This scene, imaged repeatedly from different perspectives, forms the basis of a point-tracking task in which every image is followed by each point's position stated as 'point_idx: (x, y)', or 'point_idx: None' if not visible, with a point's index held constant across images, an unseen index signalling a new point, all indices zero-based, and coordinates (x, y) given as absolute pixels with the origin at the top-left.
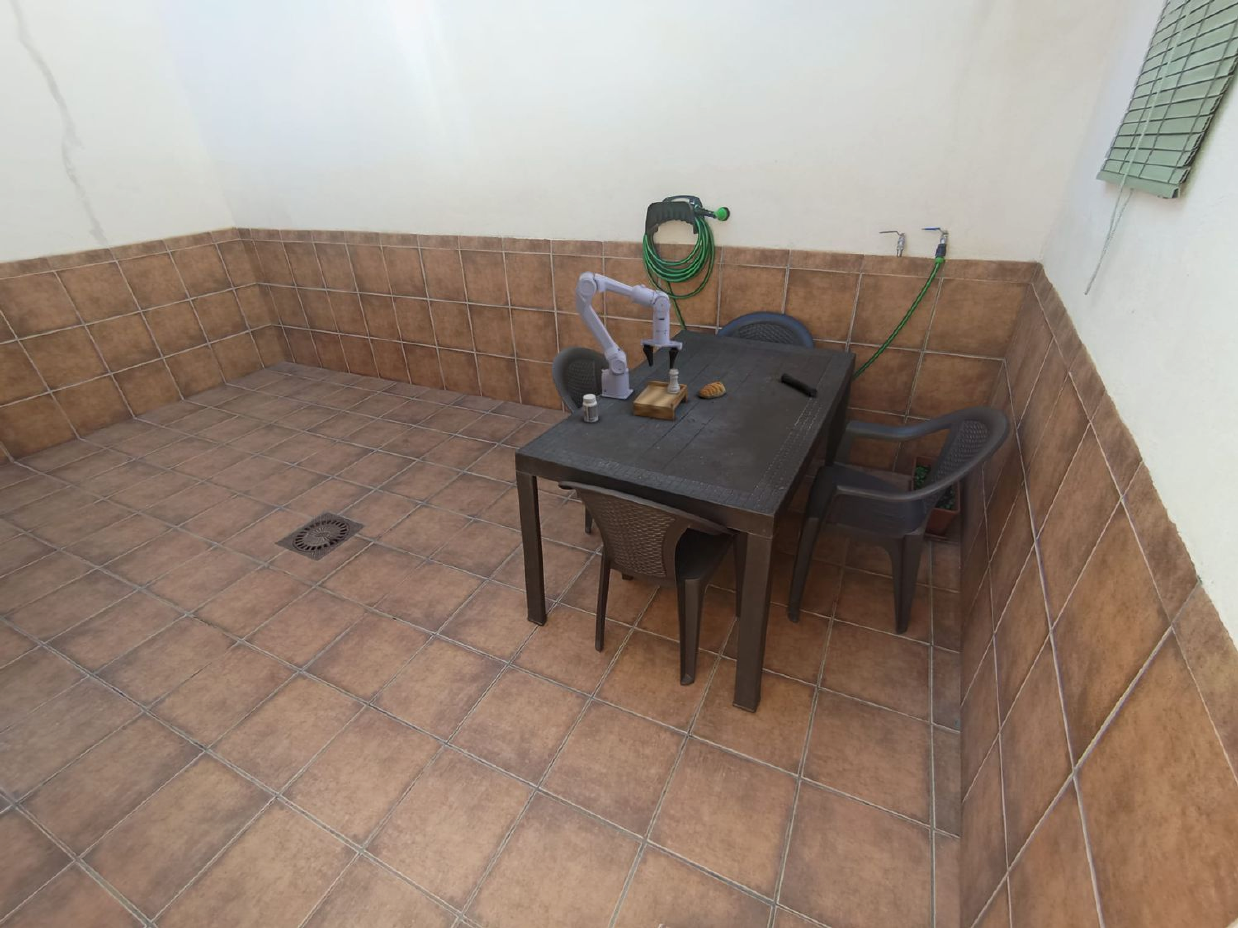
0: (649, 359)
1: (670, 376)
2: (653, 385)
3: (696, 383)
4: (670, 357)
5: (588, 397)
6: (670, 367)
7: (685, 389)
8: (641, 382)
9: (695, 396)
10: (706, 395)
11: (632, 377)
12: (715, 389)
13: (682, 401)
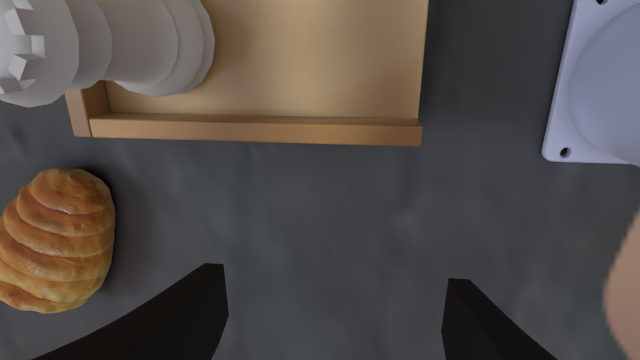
0: (495, 335)
1: (81, 5)
2: (374, 118)
3: None
4: (111, 353)
5: None
6: (205, 271)
7: None
8: (512, 297)
9: (137, 187)
10: (45, 170)
11: (587, 350)
12: (2, 227)
13: None
